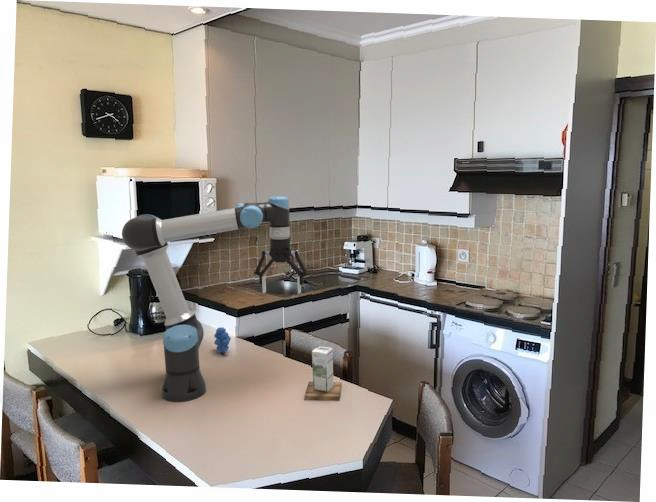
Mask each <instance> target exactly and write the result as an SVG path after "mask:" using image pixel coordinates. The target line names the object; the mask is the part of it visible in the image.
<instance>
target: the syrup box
mask: <svg viewBox="0 0 656 502" xmlns="http://www.w3.org/2000/svg"><path fill="white" fill-rule="evenodd" d="M333 353H334V350H333V348H332V347H327V346H319V345H318V346H316V347H315V348H314V349H313V350H312V351H311V359H312V382H313V390H319V391H325V392H328V391H329V390H330V389H331V388H332V387H333V386H334V383H333V382H334V355H333Z"/></svg>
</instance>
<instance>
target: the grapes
mask: <svg viewBox="0 0 656 502" xmlns="http://www.w3.org/2000/svg"><path fill="white" fill-rule="evenodd" d="M213 337H214V338H215V340H214V343H213V344H215V346H216V350H217V351H218V352H219V353H221V355H222V354H223V355H224V354H225V353H226V352H227V351H228V350H229V345H230V342H231V336H230V335H229V333H228V332H227V330H226V328H225V327H222V326H221V327H217V329H215V333H214V335H213Z"/></svg>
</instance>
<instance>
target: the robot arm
mask: <svg viewBox="0 0 656 502" xmlns="http://www.w3.org/2000/svg"><path fill="white" fill-rule="evenodd" d="M235 206H236V207H233V208H227V209H221V210H214V211H210V212H209V211H208V212H204V213H203V212H202V213H196V214H190V215H184V216H179V217H173V218H167V219H161V218H159V217H158V216H155V215H153V214H148V213H147V214H139V215H137V216H135V217H133V218H131V219H129V220H128V221H126V223H124V225H123V227H122V231H121V236H122V237H121V238H122V240H123V243H125V245H126V246H127V247H128V248H130V249H131V250H134V252H135V255H136V257H137V258H140V259H142V260H143V263H144V266H145V268H146V270H147V273H148V275H149V278H150V280H151V283H152V285H153V288H154V290H155V292H156V295H157V298H158V301H159V302H160V305H161V308H162V310H163V313H164V316H165V317H166V319H165V322H164V326H165V329H166V330H165V331H164V333H163V339H162V345H163V350H164V353H163V354H164V363H165V365H164V366H165V375H164V381H163V384H162V388H161V396H162V398H164V399H165V400H167V401H170V402H186V401H191V400H196V399H198V398H200V397H201V396H202V395H204V394H205V393H206V391H207V384H206V381H205V379H204V377H203V374H202V372H201V368H200V366H201V365H200V353H199V352H200V351H199V350H200V347H201V344H202V341H203V340H204V336H205V335H204V333H205V332H204V331H205V330H204V327H203V325H202V323H201V321H199V320H198V318H197V316H196V313H195V311H194V310H192V309H191V310H190V309H189V306H188V304H187V301H186V299H185V296H184V294H183V291H182V289H181V286H180V284H179V281H178V278H177V276H176V273H175V269H174V267H173V265H172V263H171V260H170V258H169V256H168V253H167V249H168V247H169V243H168V242H174V241H178V240H179V241H180V240H185V239H190V238H196V237H202V236H207V235H214V234H219V233H224V232H230V231H236V230H241V229H242V230H243V229H254V228H258V227H260V225H261V224H262V223H263V224H264V223H269V237H270V239H269V248H270V250H267V249H264V250H262V251H261V256H260V257H261V258H260V259H259V261H258V264H257V267H256V268H255V271H254V275H256V276H258V277H259V279H258V280H259V285H261V287H262V290H261V291H262V294H266V292H267V283H266V281H267V279H266V274H265V273H266V272H267V271H268V269H269V268H271V266H272V264H274V262H275V263H283V264H284V263H287V264H288V265H289V266H290V267H291V268H292V269H293V271H295V273H296V274H297V276H296V278H297V282H296V283H297V294H298V295H300V294H301V293H302V286H303V284H304V276H307V275H308V273H309V271H308V269H307V267H306V265H305V263H304V262H303V260H302V258H301V256H300V251H299V249H296V250H292V249H291V239H290V238H289V237H291V228H290V202H289V198H288V197H286V196H269V198H268V200H267V202H242V203H241V202H239V203H236V205H235ZM292 255H293V257H294V258H295V260H296V262H297V264H298V265H297V264H296V263H295V262H294V261H293V259H292V258H291V256H292ZM268 256H270V257H271V259H270V260H269V261H268V262H267V264H266V265H265V266H264V268H262V266H263V265H264V262H265V260H266V257H268ZM298 266H299V267H300V268H299V267H298ZM261 269H262V270H261ZM264 274H265V275H264ZM301 285H302V286H301Z"/></svg>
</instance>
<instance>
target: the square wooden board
mask: <svg viewBox="0 0 656 502" xmlns="http://www.w3.org/2000/svg"><path fill="white" fill-rule="evenodd" d="M333 383H334V386H333V387H332V388H331V389H330V390H329V391H328V392H325V391H319V390H313V381H308V384H307V387H306V390H305V393H304V395H303V396H304V401H329V402H330V401H331V402H332V401H333V402H334V401H337V402H339V401H341V393H342V386H343V383H342V381H333Z"/></svg>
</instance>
